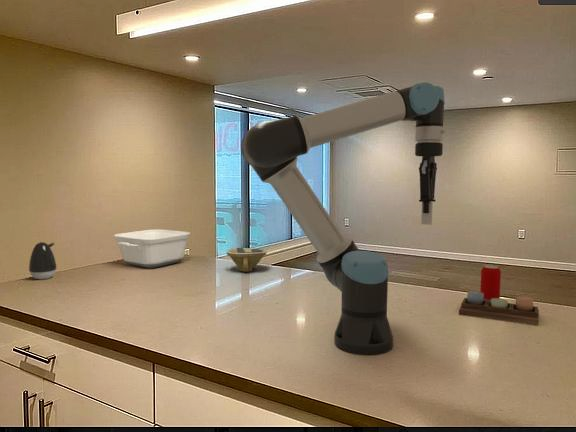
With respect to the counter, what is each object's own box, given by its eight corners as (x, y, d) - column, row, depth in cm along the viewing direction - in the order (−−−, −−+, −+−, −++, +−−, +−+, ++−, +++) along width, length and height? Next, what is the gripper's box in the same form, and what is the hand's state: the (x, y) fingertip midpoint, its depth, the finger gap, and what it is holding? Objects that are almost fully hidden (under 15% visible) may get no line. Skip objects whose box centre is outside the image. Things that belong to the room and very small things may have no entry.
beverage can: (495, 303, 157) (497, 269, 156) (477, 300, 161) (478, 266, 160) (502, 300, 161) (503, 266, 160) (483, 296, 166) (485, 263, 164)
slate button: (482, 304, 145) (482, 295, 145) (466, 302, 147) (466, 293, 147) (484, 301, 149) (484, 292, 149) (468, 299, 152) (468, 290, 151)
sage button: (506, 312, 142) (507, 303, 142) (489, 310, 144) (490, 301, 144) (507, 308, 146) (508, 299, 146) (491, 306, 149) (491, 297, 148)
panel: (538, 325, 135) (538, 315, 135) (458, 314, 145) (459, 305, 145) (538, 314, 145) (539, 305, 145) (464, 304, 156) (464, 296, 156)
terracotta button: (532, 311, 139) (533, 301, 138) (515, 309, 141) (515, 299, 141) (533, 307, 143) (533, 297, 142) (515, 305, 145) (516, 295, 145)
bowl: (265, 275, 200) (265, 253, 199) (224, 274, 201) (223, 253, 200) (267, 266, 218) (267, 246, 217) (229, 266, 218) (229, 246, 217)
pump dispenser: (62, 277, 196) (60, 241, 195) (38, 282, 188) (36, 244, 186) (48, 274, 202) (47, 239, 200) (24, 278, 193) (22, 242, 192)
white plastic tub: (145, 274, 202) (144, 240, 201) (104, 266, 218) (103, 235, 216) (200, 261, 231) (199, 232, 229) (160, 255, 246) (159, 228, 245)
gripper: (438, 140, 125) (435, 227, 127) (446, 143, 137) (444, 222, 139) (410, 141, 129) (408, 225, 131) (420, 143, 140) (418, 221, 142)
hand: (426, 224), depth 135 cm, fingers closed
